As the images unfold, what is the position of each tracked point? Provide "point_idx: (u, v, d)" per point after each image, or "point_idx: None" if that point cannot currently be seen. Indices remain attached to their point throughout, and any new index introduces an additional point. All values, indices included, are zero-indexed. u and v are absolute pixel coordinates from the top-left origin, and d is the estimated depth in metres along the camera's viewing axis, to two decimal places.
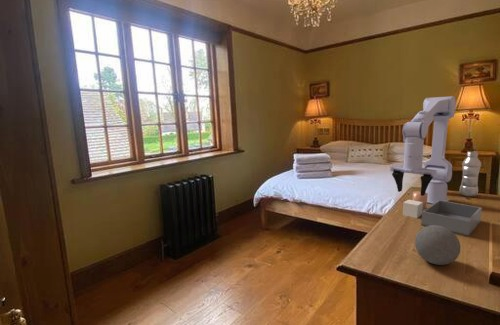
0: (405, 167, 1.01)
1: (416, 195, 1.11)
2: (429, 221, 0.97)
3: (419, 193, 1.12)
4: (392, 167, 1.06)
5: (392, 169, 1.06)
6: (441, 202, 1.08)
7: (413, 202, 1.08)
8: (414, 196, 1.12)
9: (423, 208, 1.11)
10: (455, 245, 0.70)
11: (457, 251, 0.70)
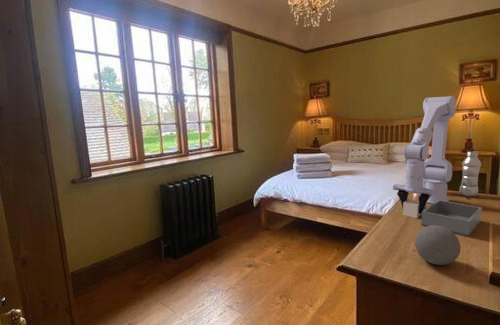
0: (407, 187, 1.07)
1: (416, 195, 1.11)
2: (429, 221, 0.97)
3: None
4: (394, 186, 1.11)
5: (394, 188, 1.11)
6: (441, 202, 1.08)
7: (413, 201, 1.08)
8: (414, 196, 1.12)
9: None
10: (455, 246, 0.70)
11: (457, 251, 0.70)
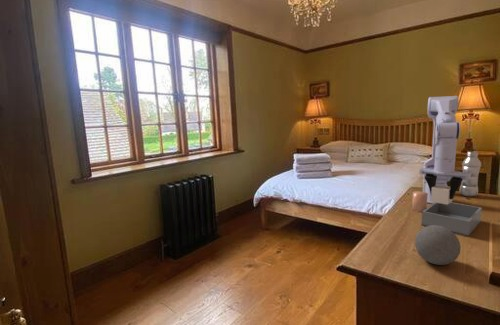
0: (436, 170, 0.97)
1: (416, 195, 1.11)
2: (429, 221, 0.97)
3: (419, 193, 1.12)
4: (421, 170, 1.01)
5: (421, 172, 1.02)
6: None
7: (443, 187, 0.98)
8: (414, 196, 1.12)
9: (423, 208, 1.11)
10: (455, 246, 0.70)
11: (457, 251, 0.70)
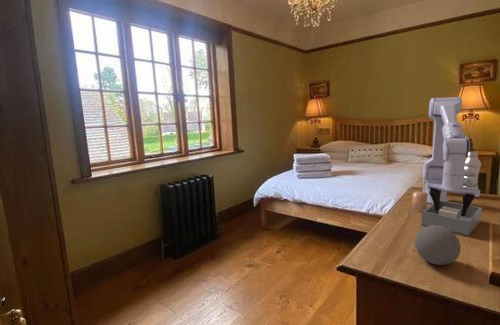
0: (445, 186, 0.95)
1: (416, 195, 1.11)
2: (429, 221, 0.97)
3: (419, 193, 1.12)
4: (429, 185, 1.00)
5: (429, 187, 1.00)
6: (441, 202, 1.08)
7: (450, 209, 0.97)
8: (414, 196, 1.12)
9: (423, 208, 1.11)
10: (455, 246, 0.70)
11: (457, 251, 0.70)
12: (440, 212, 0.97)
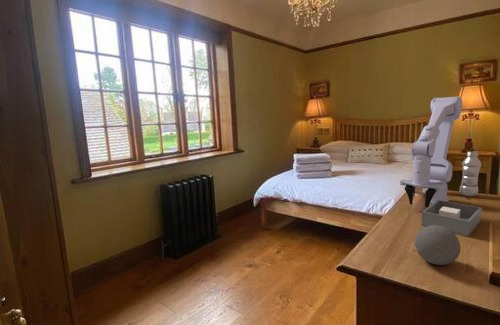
0: (414, 182, 1.11)
1: (416, 195, 1.11)
2: (429, 221, 0.97)
3: (419, 193, 1.12)
4: (402, 181, 1.16)
5: (402, 183, 1.16)
6: (441, 202, 1.08)
7: (450, 209, 0.97)
8: (414, 196, 1.12)
9: (423, 208, 1.11)
10: (455, 246, 0.70)
11: (457, 251, 0.70)
12: (440, 212, 0.97)
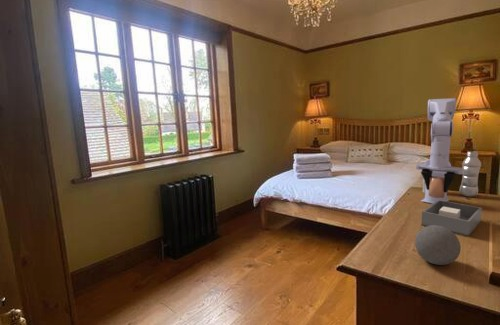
0: (432, 165, 1.04)
1: (434, 180, 1.04)
2: (429, 221, 0.97)
3: (437, 178, 1.05)
4: (418, 165, 1.09)
5: (418, 167, 1.09)
6: (441, 202, 1.08)
7: (450, 209, 0.97)
8: (431, 181, 1.05)
9: (441, 193, 1.04)
10: (455, 246, 0.70)
11: (457, 251, 0.70)
12: (440, 212, 0.97)
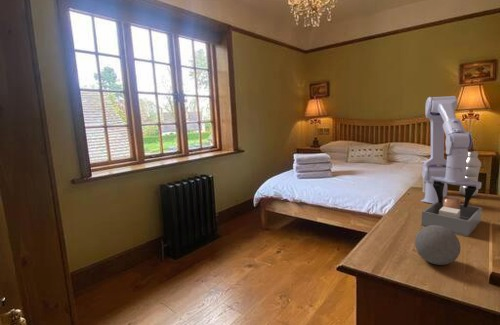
0: (448, 178, 1.00)
1: (448, 200, 1.01)
2: (429, 221, 0.97)
3: (451, 198, 1.02)
4: (433, 178, 1.05)
5: (432, 180, 1.05)
6: (441, 202, 1.08)
7: (450, 209, 0.97)
8: (446, 201, 1.02)
9: None
10: (455, 245, 0.70)
11: (457, 251, 0.70)
12: (440, 212, 0.97)
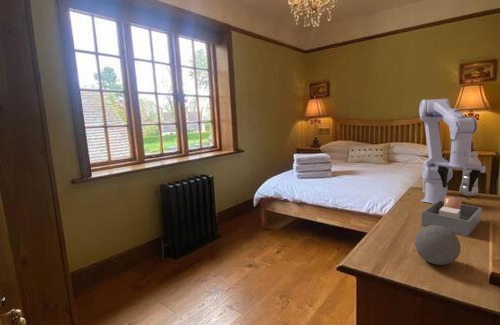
0: (452, 163, 1.02)
1: (450, 201, 1.01)
2: (429, 221, 0.97)
3: (452, 199, 1.01)
4: (437, 163, 1.07)
5: (437, 165, 1.07)
6: (441, 202, 1.08)
7: (450, 209, 0.97)
8: (447, 202, 1.01)
9: None
10: (455, 245, 0.70)
11: (457, 251, 0.70)
12: (440, 212, 0.97)
